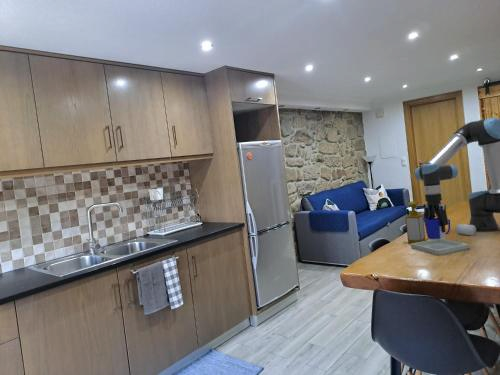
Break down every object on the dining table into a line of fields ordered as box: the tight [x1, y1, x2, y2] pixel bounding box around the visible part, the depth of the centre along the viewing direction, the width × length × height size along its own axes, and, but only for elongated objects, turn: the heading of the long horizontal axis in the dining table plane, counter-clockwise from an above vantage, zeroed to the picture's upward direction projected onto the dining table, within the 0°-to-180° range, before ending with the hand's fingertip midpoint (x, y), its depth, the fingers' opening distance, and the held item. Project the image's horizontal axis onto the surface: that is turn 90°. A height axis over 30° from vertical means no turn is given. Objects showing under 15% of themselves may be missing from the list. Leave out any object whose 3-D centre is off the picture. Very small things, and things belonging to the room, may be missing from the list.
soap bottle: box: [404, 201, 427, 245], centre depth 209 cm, size 7×13×24 cm, turn 137°
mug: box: [423, 217, 451, 240], centre depth 187 cm, size 8×12×10 cm
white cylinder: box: [455, 223, 477, 237], centre depth 211 cm, size 6×6×8 cm
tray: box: [410, 238, 470, 256], centre depth 188 cm, size 18×20×3 cm
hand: (437, 237), depth 188 cm, fingers closed on mug, 7 cm apart
